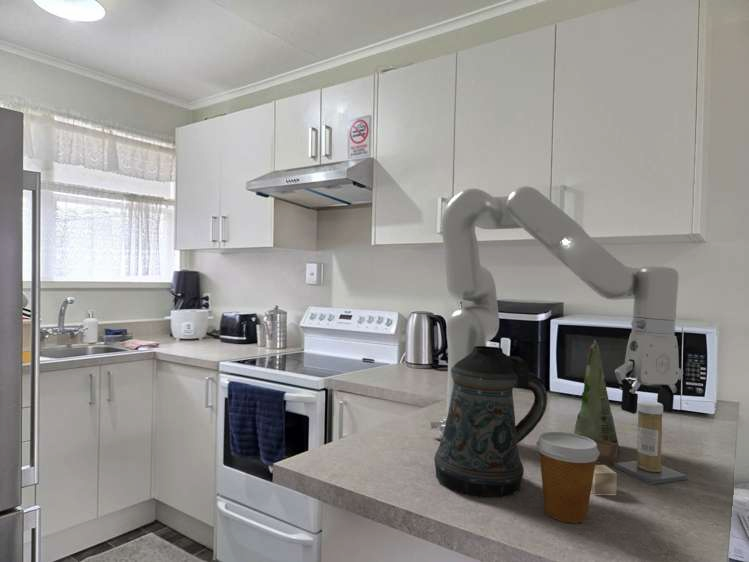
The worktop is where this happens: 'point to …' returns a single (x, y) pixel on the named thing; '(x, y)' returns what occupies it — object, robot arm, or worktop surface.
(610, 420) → the miniature christmas tree
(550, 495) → the disposable coffee cup
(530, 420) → the beer stein
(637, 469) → the slate coaster
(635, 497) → the worktop surface
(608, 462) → the walnut block
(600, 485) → the beech block
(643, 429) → the sprinkles bottle
